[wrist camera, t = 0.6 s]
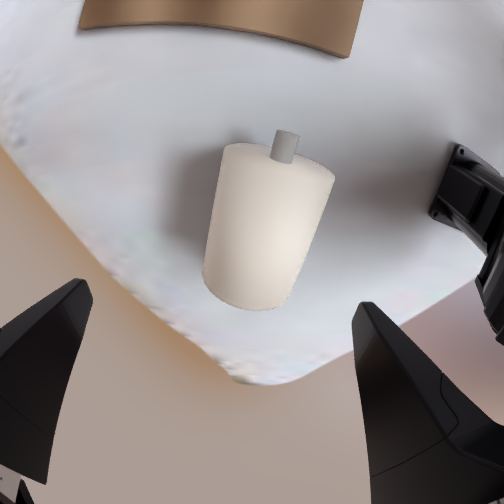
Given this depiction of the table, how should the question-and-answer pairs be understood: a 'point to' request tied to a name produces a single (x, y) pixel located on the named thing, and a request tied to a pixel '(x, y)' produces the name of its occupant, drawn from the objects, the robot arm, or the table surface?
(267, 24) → the roll cradle
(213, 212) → the paper roll
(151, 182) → the table surface
